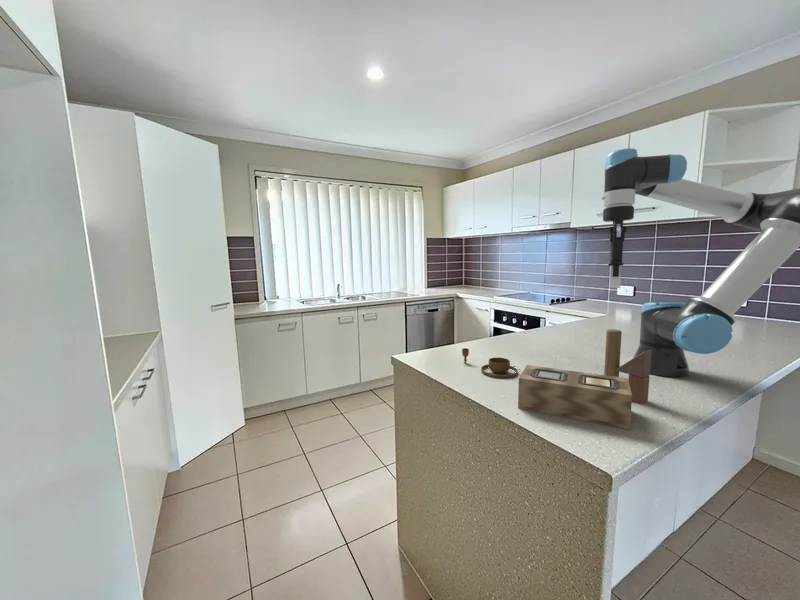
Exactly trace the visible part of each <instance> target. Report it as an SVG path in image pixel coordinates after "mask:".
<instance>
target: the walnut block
mask: <svg viewBox="0 0 800 600" xmlns="http://www.w3.org/2000/svg"><path fill="white" fill-rule="evenodd" d="M540 371H545V372H552V373H559V374H560V379H555V378H548V377H541V376H538V374H539V372H540ZM586 377H588V378H595V379H603V380H609V382H610V387H609V386H602V385H595V384H589V383H586ZM628 379H629V377H628V378H627V377H620V376H619V377H614V376H607V375H604V374H598V373H591V372H583V371H576V370H575V371H574V370H568V369H559V368H553V367H545V366H538V365H537V366H536V365H531V364H526V366H525V367H524V369H523V371H522V372H521V374H520V375H519V377H518V397H517V399H518V400H517V402H518V403H517V408H519V409H523V410H528V411H532V412H533V411H534V412H538V413H543V414H547V415H548V414H549V415H555V416H559V417H564V418H568V419H572V420H573V419H574V420H579V421H583V422H589V423H594V424H600V425H603V426H608V427H609V426H610V427H613V428H614V427H615V428H620V429H625V430H631V420H632V419H631V417H632V402H633V401H632V393H631V389H630V385H629V382H628Z"/></svg>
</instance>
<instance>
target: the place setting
mask: <svg viewBox="0 0 800 600" xmlns="http://www.w3.org/2000/svg"><path fill="white" fill-rule="evenodd" d="M469 352H470V351H469V348H466V347H465V348H462V349H461V354H462V356H463V362H464V363H463V364H465V363H466V364H467V361H468V359H467V358H468V356H469V354H470V353H469ZM488 367H489V368H488ZM514 367H517V366H515V365H511V360H510V359H508V358H504V357H490V358H489V359H488V364H485V365H482V366H481V369H480V371H481V373H482V374H483V375H485V376H487V377H489V378H494V379H510V377H511V378H514V377H516V376H517V374H518V372H519V371H518V369H516V368H514ZM485 368H488V369H489V370H490V371H491V372H492V373H491V372H488V371H485V370H486V369H485ZM484 369H485V370H484ZM509 369H512V370H514V371H515V372H516V373H515V372H513V373H510V374H506V373H507V372H509V371H510V370H509ZM483 370H484V371H483ZM512 370H511V371H512ZM493 372H494V373H493ZM495 373H496V374H495ZM504 373H505V374H504ZM513 376H514V377H513Z"/></svg>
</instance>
